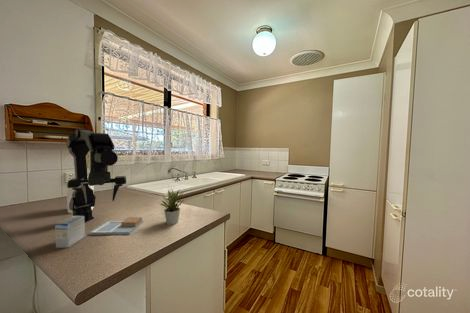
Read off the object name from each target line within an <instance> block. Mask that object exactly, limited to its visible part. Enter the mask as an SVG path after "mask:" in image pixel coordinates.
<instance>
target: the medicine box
mask: <svg viewBox="0 0 470 313" xmlns="http://www.w3.org/2000/svg"><path fill="white" fill-rule="evenodd" d="M54 228H55V229H54V230H55V235H54V236H55V248H56V249H60V248H61V249H62V248H64V249H65V248H66V249H67V248H69V247H71V246H73V245H74V244H76V243H78V242H79V241H81V240H82V239H84V238H85V236H86V235H85V233H86V232H85V223H84V216H73V215H71V216H69V217H67V218H65V219H63V220H61V221H59V222H57V223H55V224H54Z"/></svg>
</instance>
